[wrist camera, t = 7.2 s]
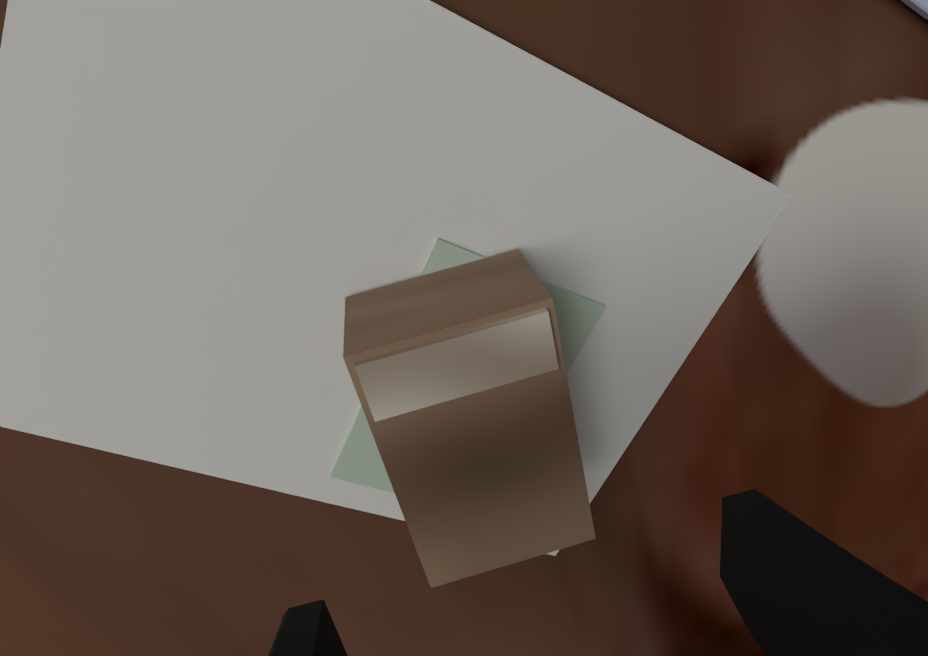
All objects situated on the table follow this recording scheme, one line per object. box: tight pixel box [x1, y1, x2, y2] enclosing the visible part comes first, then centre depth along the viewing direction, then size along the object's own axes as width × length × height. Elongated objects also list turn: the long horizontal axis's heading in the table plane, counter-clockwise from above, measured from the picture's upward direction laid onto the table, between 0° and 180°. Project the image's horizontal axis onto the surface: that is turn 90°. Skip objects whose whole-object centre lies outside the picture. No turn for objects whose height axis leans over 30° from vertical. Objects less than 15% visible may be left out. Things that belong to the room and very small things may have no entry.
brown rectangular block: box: [343, 249, 596, 588], centre depth 17 cm, size 8×5×4 cm, turn 13°
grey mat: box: [0, 0, 793, 556], centre depth 18 cm, size 20×15×1 cm
